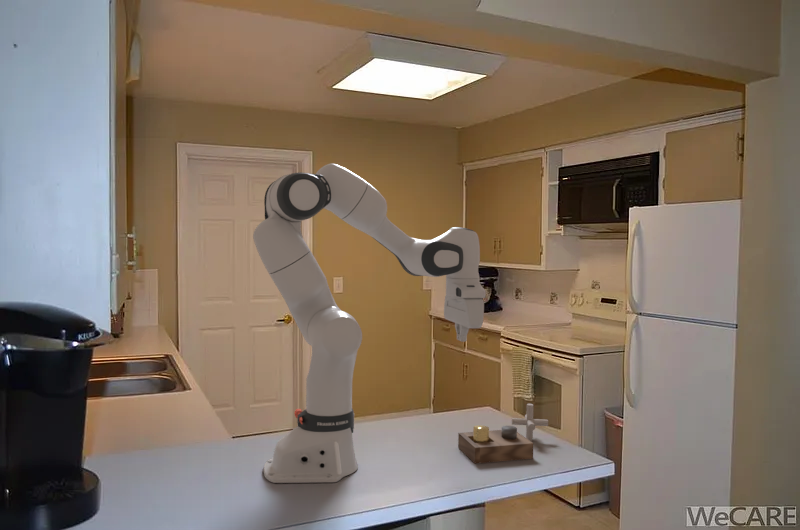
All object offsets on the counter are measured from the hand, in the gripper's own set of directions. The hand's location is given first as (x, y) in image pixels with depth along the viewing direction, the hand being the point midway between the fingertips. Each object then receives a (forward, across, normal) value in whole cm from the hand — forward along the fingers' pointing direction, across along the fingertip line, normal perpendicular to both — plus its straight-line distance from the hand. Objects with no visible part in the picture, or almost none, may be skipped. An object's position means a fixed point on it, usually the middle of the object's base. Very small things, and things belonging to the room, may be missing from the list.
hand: (461, 340), depth 160 cm
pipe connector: (+29, -3, +22) cm, 37 cm away
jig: (+29, +5, +8) cm, 31 cm away
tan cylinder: (+29, +5, +4) cm, 30 cm away
